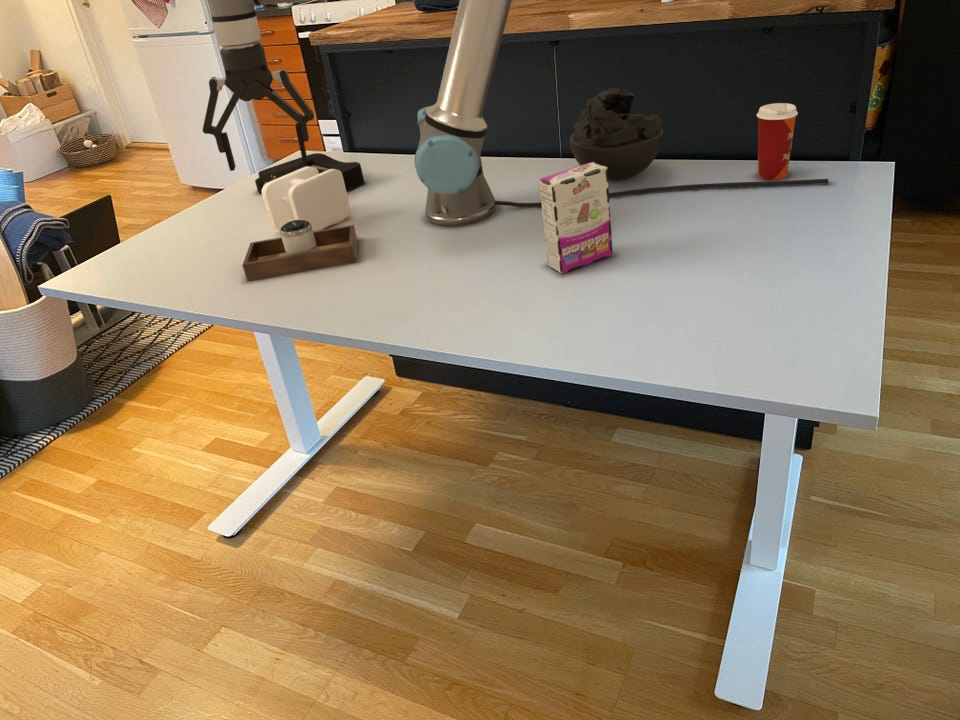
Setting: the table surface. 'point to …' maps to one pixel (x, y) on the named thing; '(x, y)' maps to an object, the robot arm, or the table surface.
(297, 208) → the cable organizer
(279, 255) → the box
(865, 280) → the table surface
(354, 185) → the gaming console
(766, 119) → the paper cup
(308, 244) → the camera lens
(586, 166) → the candy bar box
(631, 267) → the table surface
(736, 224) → the table surface
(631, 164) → the coal bowl
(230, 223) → the table surface
